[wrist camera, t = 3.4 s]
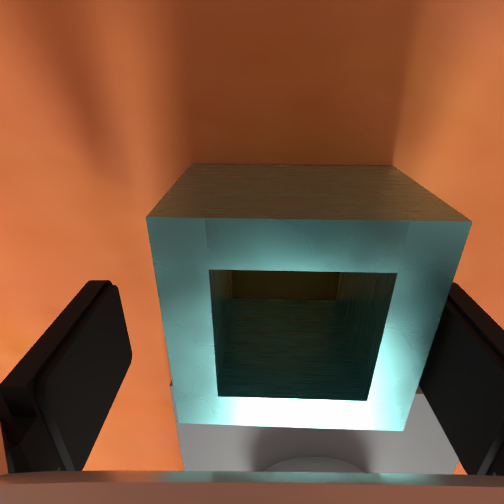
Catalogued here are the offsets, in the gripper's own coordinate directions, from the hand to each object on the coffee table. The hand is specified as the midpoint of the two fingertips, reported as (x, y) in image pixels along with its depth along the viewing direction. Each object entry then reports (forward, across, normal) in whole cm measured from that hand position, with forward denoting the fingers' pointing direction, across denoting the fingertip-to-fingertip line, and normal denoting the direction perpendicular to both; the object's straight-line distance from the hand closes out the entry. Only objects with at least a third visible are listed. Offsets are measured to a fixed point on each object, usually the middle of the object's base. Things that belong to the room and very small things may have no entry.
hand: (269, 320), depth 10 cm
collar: (+4, -1, 0) cm, 4 cm away
